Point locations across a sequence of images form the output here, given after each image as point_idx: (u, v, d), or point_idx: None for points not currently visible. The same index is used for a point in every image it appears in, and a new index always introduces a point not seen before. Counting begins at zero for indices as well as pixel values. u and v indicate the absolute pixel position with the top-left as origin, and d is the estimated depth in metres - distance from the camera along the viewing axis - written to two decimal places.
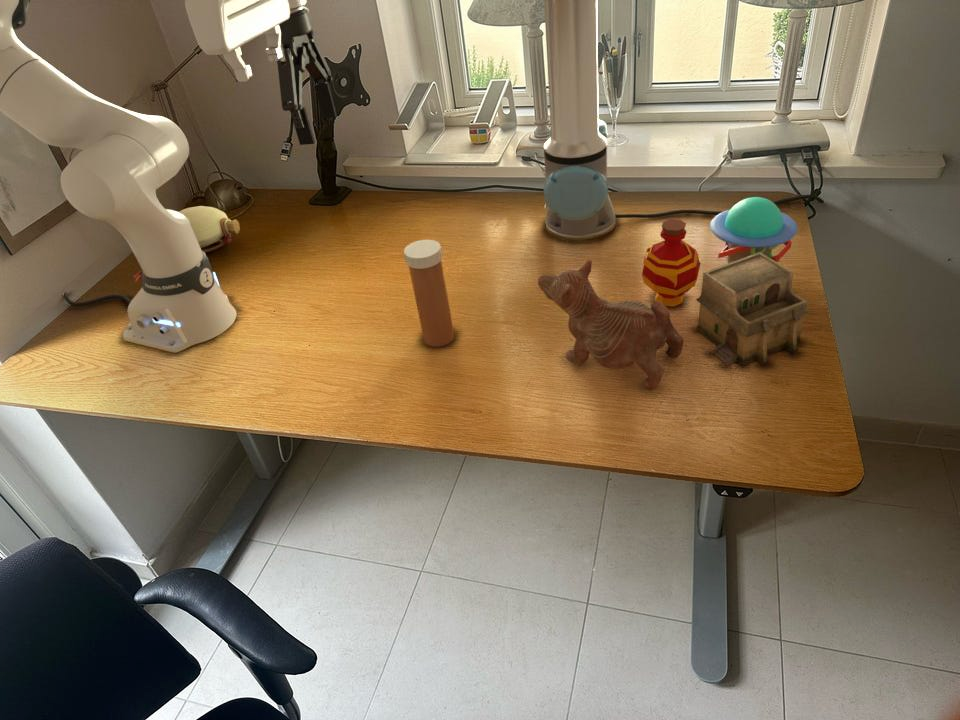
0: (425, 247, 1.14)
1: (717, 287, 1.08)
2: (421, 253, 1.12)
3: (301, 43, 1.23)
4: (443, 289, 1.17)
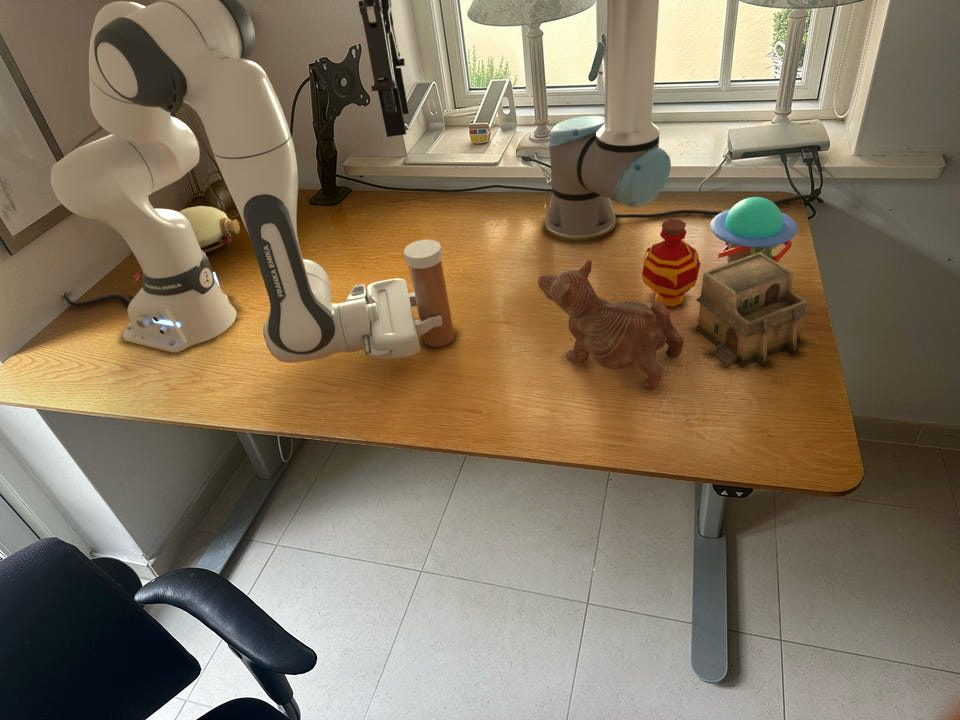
0: (425, 247, 1.14)
1: (717, 287, 1.08)
2: (421, 253, 1.12)
3: None
4: (443, 289, 1.17)
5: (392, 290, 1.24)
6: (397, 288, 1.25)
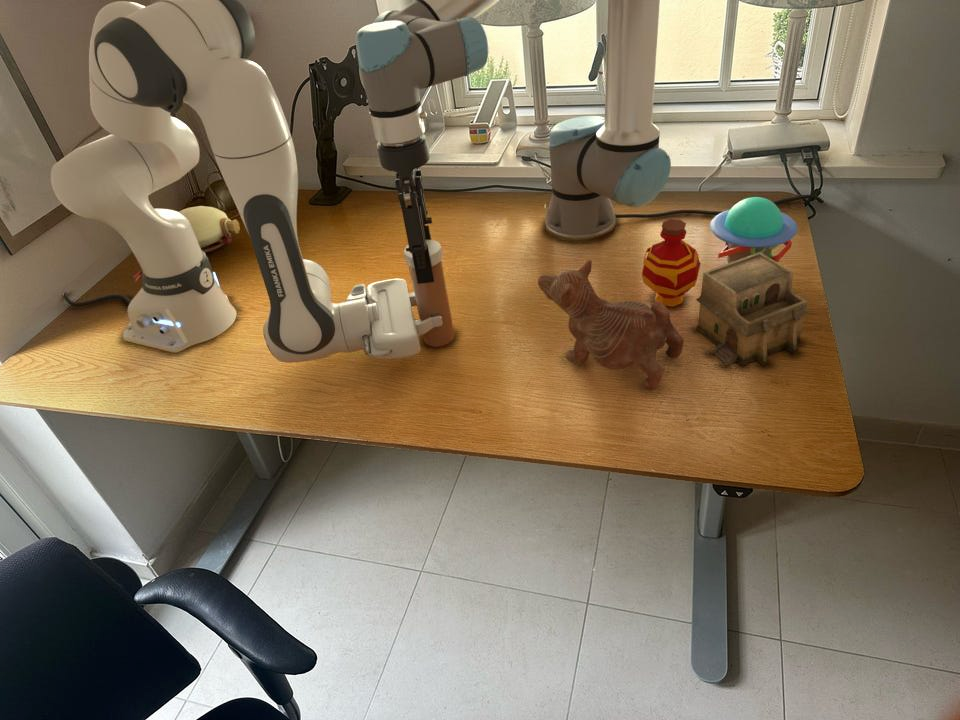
0: None
1: (717, 287, 1.08)
2: None
3: None
4: (443, 289, 1.17)
5: (393, 290, 1.24)
6: (397, 288, 1.25)
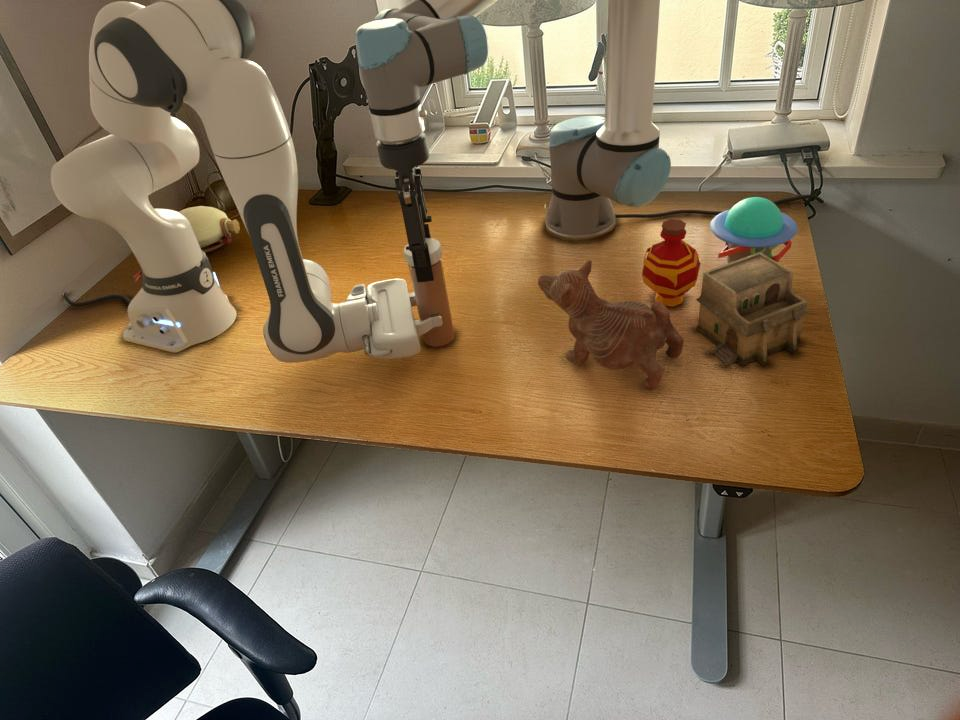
0: None
1: (717, 287, 1.08)
2: (431, 246, 1.13)
3: None
4: (443, 289, 1.17)
5: (393, 290, 1.24)
6: (397, 288, 1.25)
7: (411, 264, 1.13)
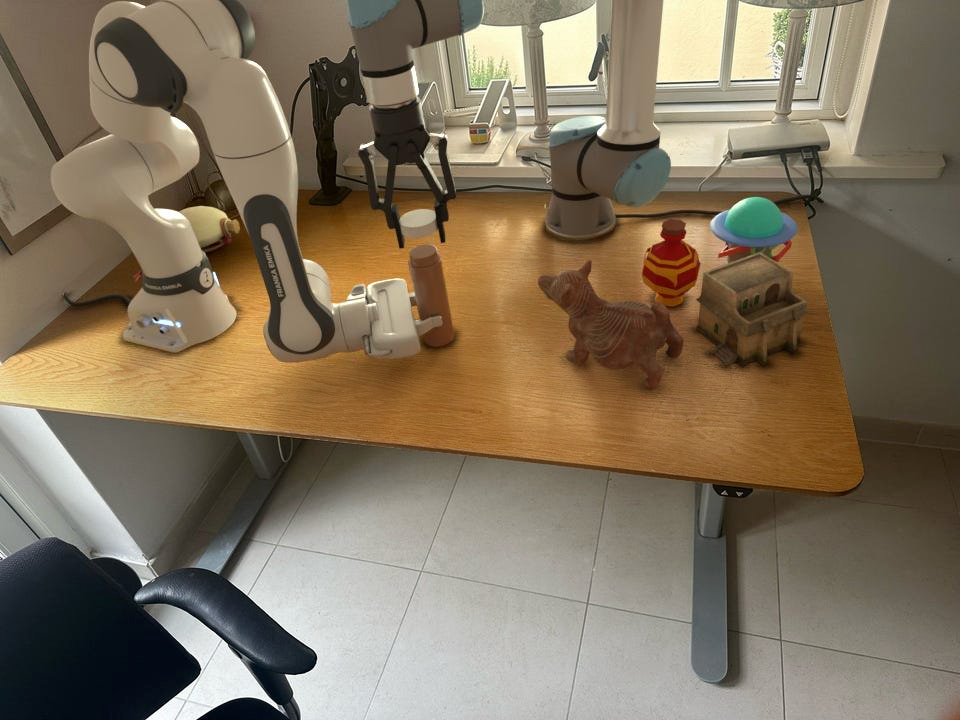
0: (414, 219, 1.10)
1: (717, 287, 1.08)
2: (418, 213, 1.11)
3: None
4: (443, 289, 1.17)
5: (393, 290, 1.24)
6: (397, 288, 1.25)
7: (433, 231, 1.10)
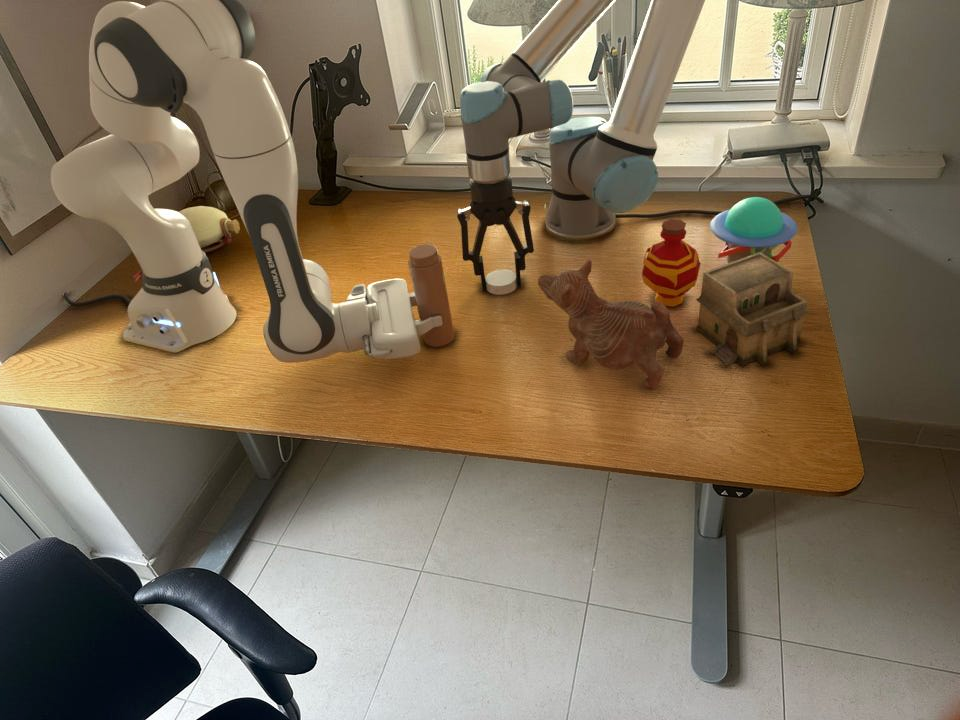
0: (498, 278, 1.35)
1: (717, 287, 1.08)
2: (500, 273, 1.36)
3: None
4: (443, 289, 1.17)
5: (393, 290, 1.24)
6: (397, 288, 1.25)
7: (514, 288, 1.34)
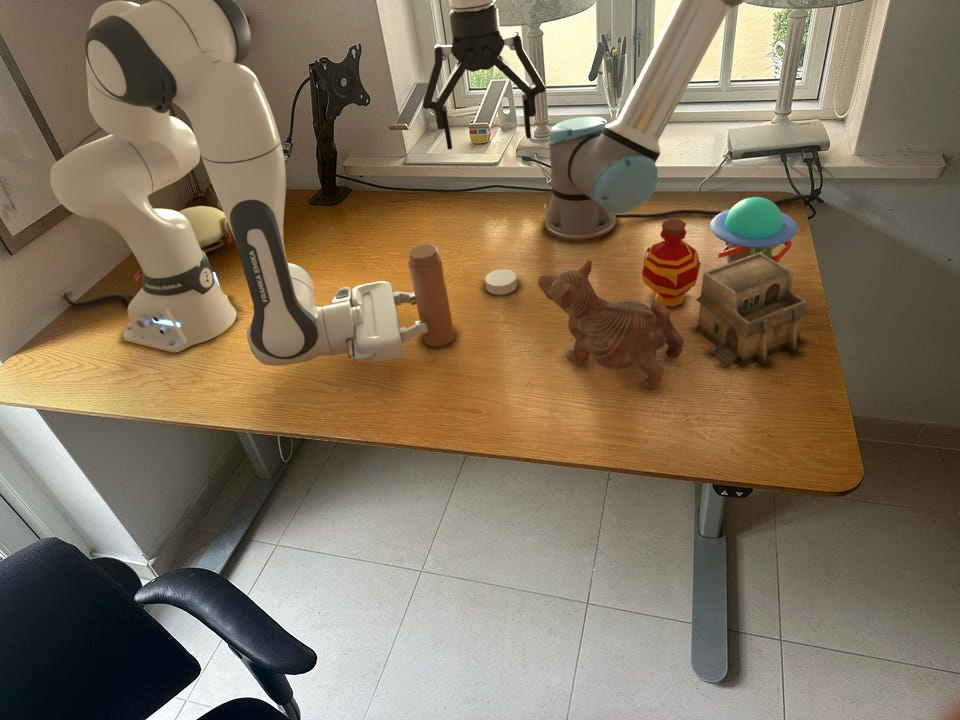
0: (498, 278, 1.35)
1: (717, 287, 1.08)
2: (500, 273, 1.36)
3: (478, 46, 1.08)
4: (443, 289, 1.17)
5: (377, 293, 1.24)
6: (382, 291, 1.25)
7: (514, 288, 1.34)
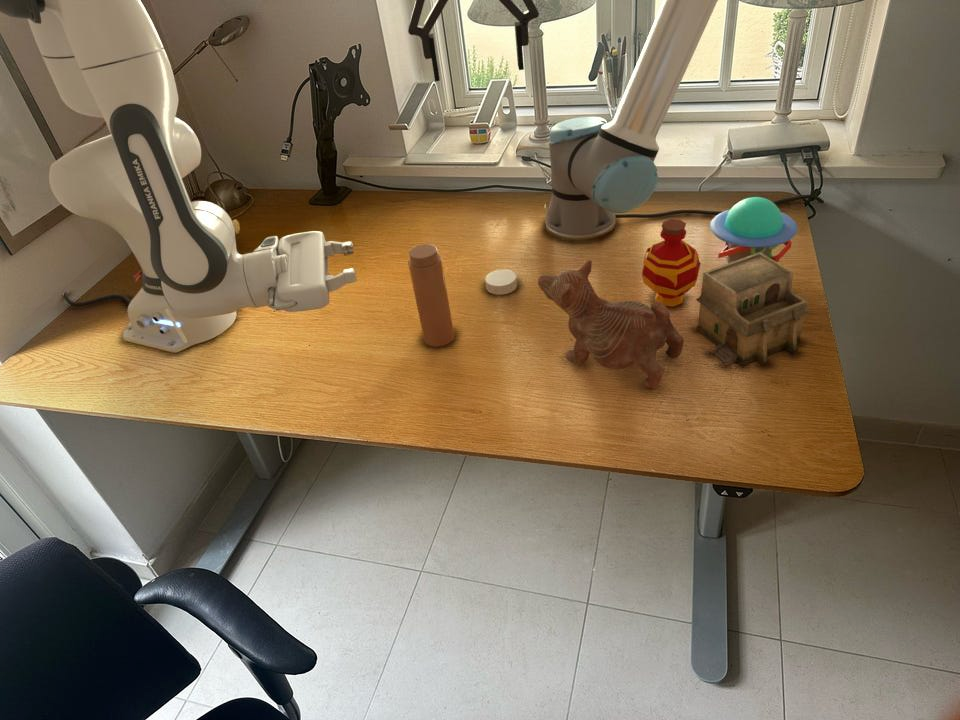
0: (498, 278, 1.35)
1: (717, 287, 1.08)
2: (500, 273, 1.36)
3: None
4: (443, 289, 1.17)
5: (307, 242, 1.15)
6: (312, 240, 1.16)
7: (514, 288, 1.34)
